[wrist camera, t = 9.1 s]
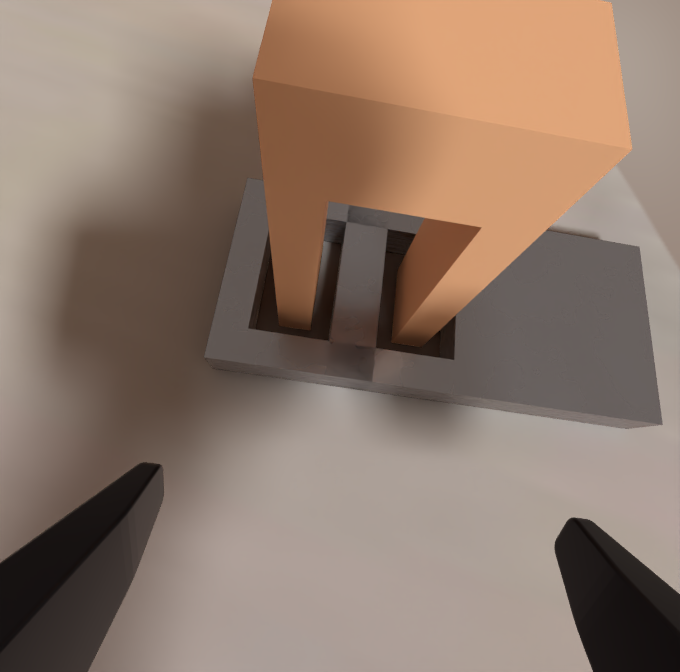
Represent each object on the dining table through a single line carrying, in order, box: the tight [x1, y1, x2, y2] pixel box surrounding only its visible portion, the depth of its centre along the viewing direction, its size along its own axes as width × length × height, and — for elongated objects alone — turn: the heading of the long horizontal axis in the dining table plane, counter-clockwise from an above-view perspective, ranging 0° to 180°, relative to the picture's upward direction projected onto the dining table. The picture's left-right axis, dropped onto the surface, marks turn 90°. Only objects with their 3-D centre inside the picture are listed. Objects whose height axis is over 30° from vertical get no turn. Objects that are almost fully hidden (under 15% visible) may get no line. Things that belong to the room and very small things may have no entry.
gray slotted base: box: [204, 178, 663, 429], centre depth 19 cm, size 20×9×2 cm, turn 83°
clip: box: [253, 0, 632, 347], centre depth 14 cm, size 7×4×13 cm, turn 83°
